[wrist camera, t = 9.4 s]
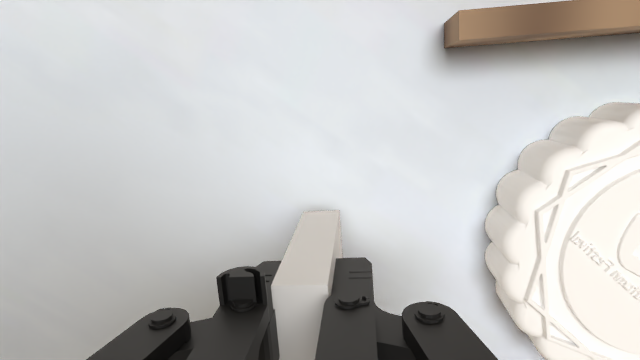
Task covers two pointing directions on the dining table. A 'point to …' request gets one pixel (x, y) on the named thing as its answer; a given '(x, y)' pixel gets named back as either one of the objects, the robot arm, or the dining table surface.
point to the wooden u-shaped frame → (542, 22)
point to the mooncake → (573, 238)
